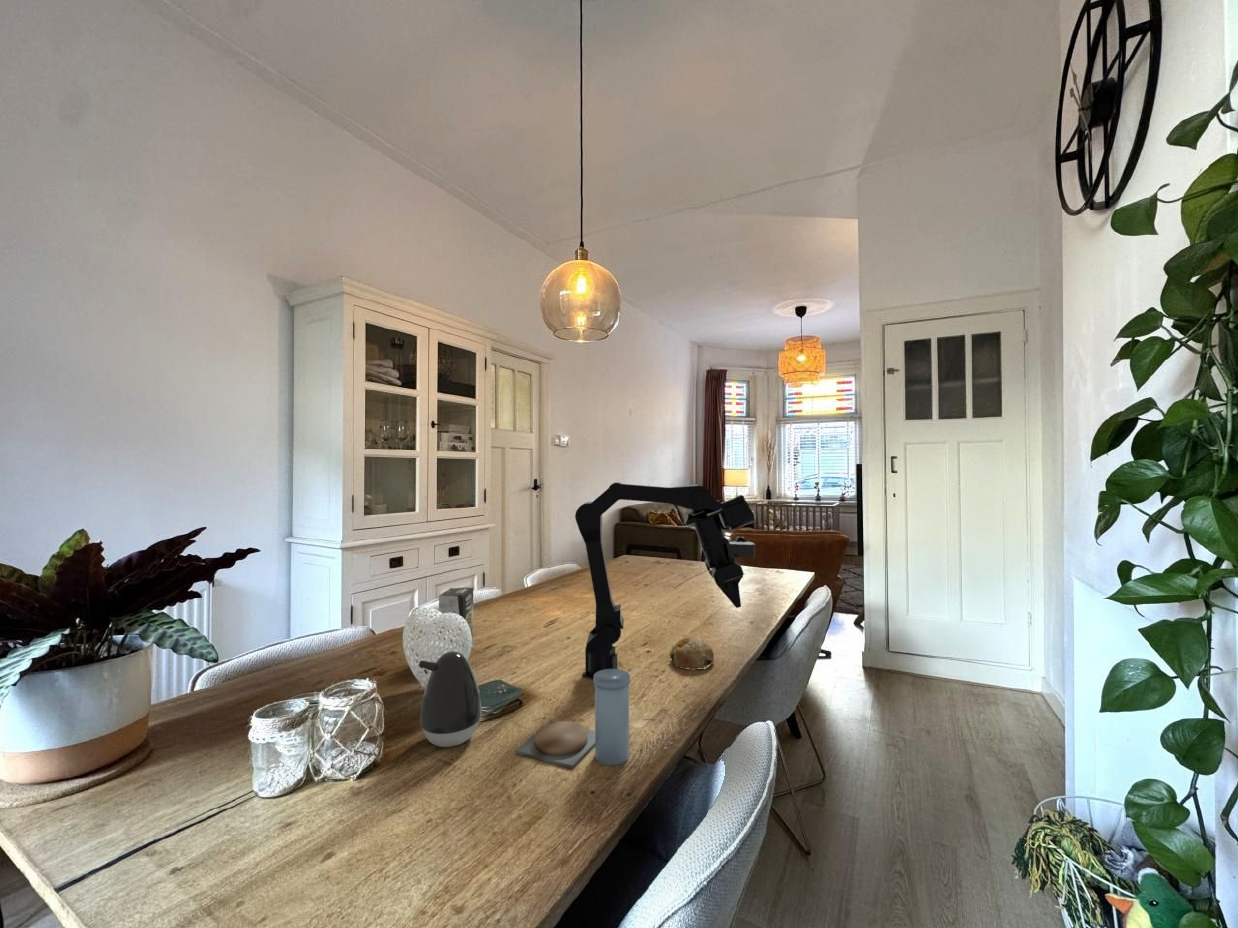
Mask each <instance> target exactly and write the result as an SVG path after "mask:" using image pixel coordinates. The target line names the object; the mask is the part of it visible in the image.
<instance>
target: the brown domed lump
mask: <svg viewBox="0 0 1238 928" xmlns="http://www.w3.org/2000/svg"><path fill="white" fill-rule="evenodd" d="M668 655H669V657H670V658H669V659H671V662H672V663H673V662H674V666H675V665H677V666H679V667H682V668H689V669H698V668H704V667H707V665H709V664H711V663H712V664H713V663H714V660H715V659H714V658H715V656H714V655H715V654H714V652H713V649H712V647H711V646H710V645H709V644H708V643H707V642H706V641H705V640H704V639H703V638H698V637H693V636H688V637H684V638H682V639H680V640H677V642H676V643H675V644H674V645H672V647H671V650H670V651H669V654H668ZM712 664H711V665H712ZM677 666H676V667H677ZM679 667H678V668H679Z"/></svg>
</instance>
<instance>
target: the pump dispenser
mask: <svg viewBox="0 0 1238 928" xmlns="http://www.w3.org/2000/svg"><path fill="white" fill-rule="evenodd" d="M419 667H420V668H421V669H423V668H425V669H428V670H430V671H431V674H430V676H429V679H428V681H427V684H426V688H425V687H424V692H423V697H422V702H421V709H420V718H419V719H420V728H421V729H422V730H423V731H422V732H423V734H424V736H425V738H426V739H427V740H428V742H429V743H431V744H432V745H434V746H437V747H439V748H440V747H441V748H451V747H452V748H453V747H457V746H459V745H461V744H463V743H465V742H467V741H468V740H469V739H470V738H472V736H473V735H474V734H475V732H476V730H477V728H478V726H479V723H480V720H481V718H482V714H483V713H482V702H481V694H480V690H479V684H478V680H477V679H476V676H475V673H474V670H473V668H472V666H471V664H470V662H469V659H468V660H467V659H466V658H465V656H464V655H463V654H461V653H459V652H455V651H451V652H447V653H445V654H443V655H442V656H441V657H440V658H439V659H438V660H437V662H436V663H434V662H428V661H423V660H421V661H420V662H419Z"/></svg>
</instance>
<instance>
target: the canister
mask: <svg viewBox="0 0 1238 928" xmlns="http://www.w3.org/2000/svg"><path fill="white" fill-rule="evenodd" d="M630 684H631V675H630V673H629V672H628V671H626V670H623V669H619V668H617V669H605V670H601V671H598V672H596V673H595V674H594V679H593V685H594V729H595V730H594V731H595V746H594V750H595V751H594V752H595V753H594V755H595V756H594V757H595V759H596V761H597V762H598V763H600V764H602V765H605V766H617V765H621V764H623V763H626V762H627V761H629V759H630Z"/></svg>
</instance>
